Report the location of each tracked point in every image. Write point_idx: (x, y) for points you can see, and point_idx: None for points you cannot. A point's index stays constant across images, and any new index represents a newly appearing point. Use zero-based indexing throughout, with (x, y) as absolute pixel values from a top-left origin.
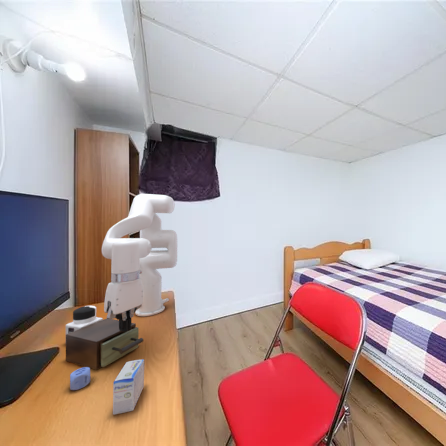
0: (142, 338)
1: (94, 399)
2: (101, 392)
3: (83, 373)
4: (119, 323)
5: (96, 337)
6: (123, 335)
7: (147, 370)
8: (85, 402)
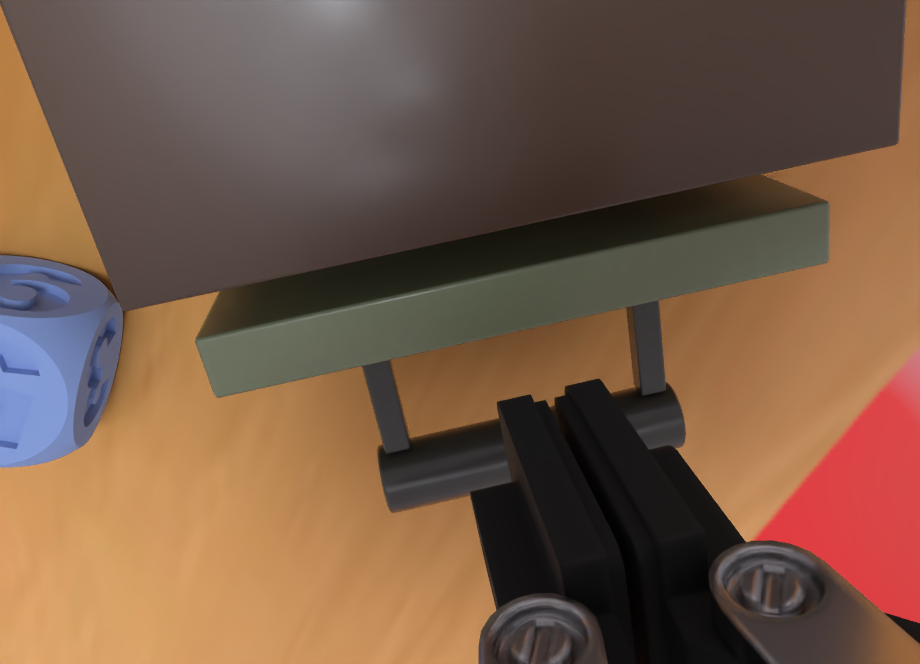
0: (681, 445)
1: (95, 605)
2: (152, 570)
3: (1, 462)
4: (493, 584)
5: (168, 98)
6: (542, 323)
7: (485, 592)
8: (40, 588)
